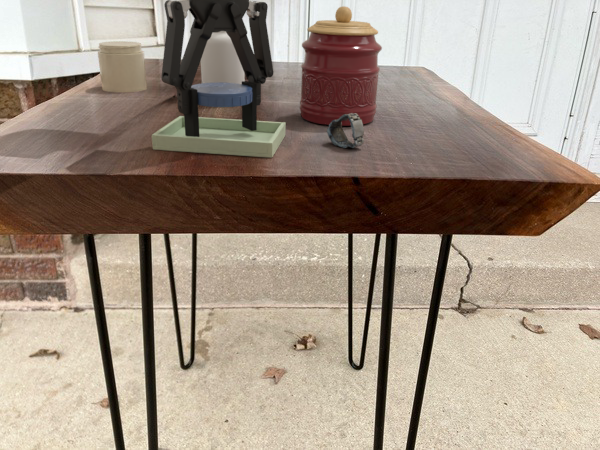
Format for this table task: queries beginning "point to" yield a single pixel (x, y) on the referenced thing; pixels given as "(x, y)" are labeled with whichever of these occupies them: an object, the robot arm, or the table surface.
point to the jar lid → (223, 94)
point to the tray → (221, 137)
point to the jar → (122, 67)
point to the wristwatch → (339, 136)
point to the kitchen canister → (340, 70)
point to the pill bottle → (221, 61)
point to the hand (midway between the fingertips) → (221, 132)
